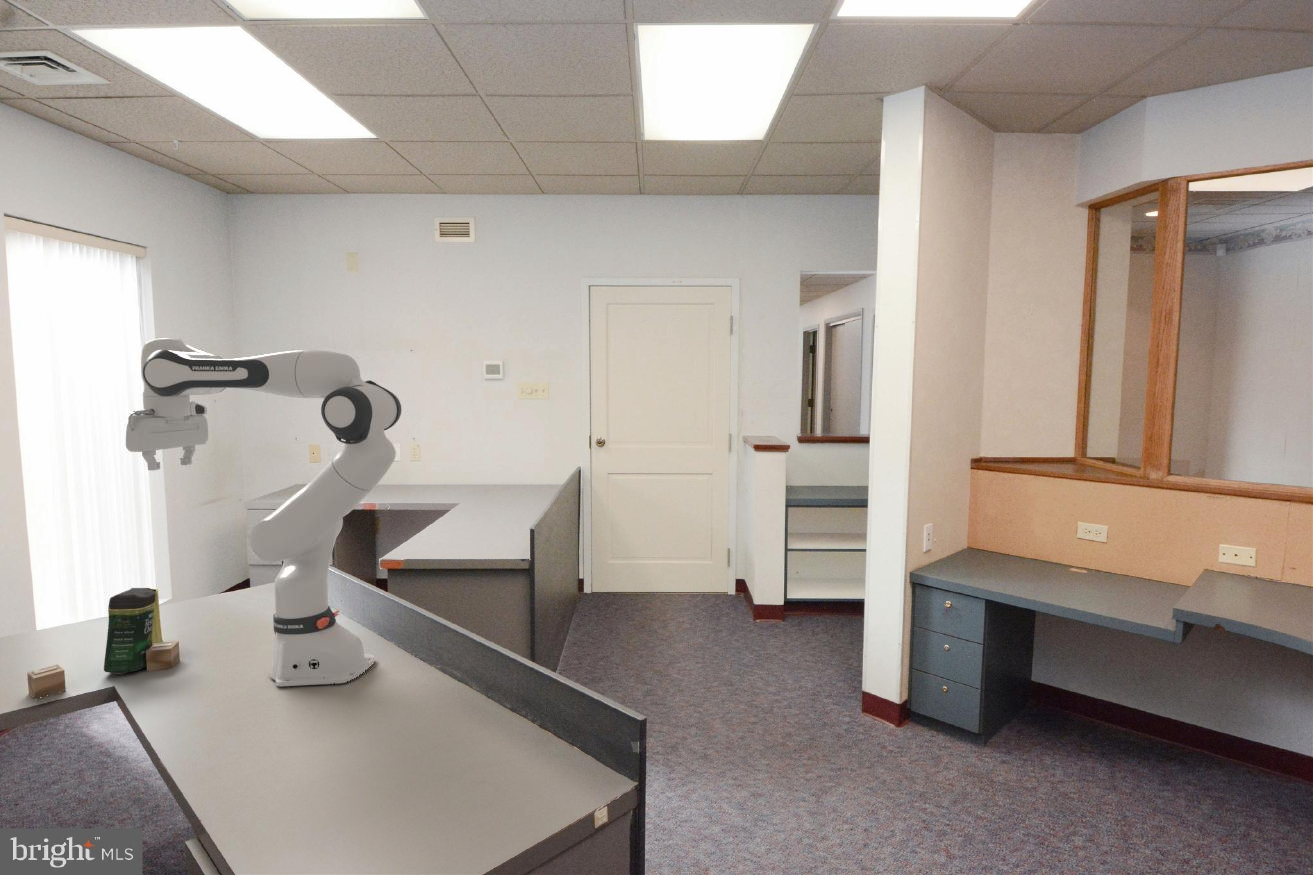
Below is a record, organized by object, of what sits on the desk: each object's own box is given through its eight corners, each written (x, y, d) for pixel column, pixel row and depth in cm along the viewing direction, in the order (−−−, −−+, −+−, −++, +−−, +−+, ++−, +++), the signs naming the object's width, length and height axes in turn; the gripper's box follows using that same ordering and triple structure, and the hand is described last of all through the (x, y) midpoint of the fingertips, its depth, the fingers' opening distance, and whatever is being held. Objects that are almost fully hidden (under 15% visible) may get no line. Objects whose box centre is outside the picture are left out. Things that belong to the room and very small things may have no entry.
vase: (169, 641, 173) (166, 588, 171) (148, 650, 166) (145, 595, 165) (147, 640, 173) (144, 587, 172) (127, 649, 167) (123, 594, 166)
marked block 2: (179, 660, 161) (178, 639, 160) (172, 668, 156) (170, 647, 156) (155, 663, 159) (154, 642, 159) (147, 671, 155) (145, 650, 154)
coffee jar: (138, 674, 152) (143, 593, 152) (97, 675, 149) (102, 594, 150) (157, 660, 161) (161, 584, 161) (119, 662, 159) (123, 585, 159)
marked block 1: (65, 691, 144) (64, 669, 144) (35, 700, 140) (33, 677, 140) (59, 685, 147) (57, 663, 147) (28, 694, 143) (27, 671, 143)
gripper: (142, 410, 142) (146, 473, 143) (212, 407, 162) (215, 462, 164) (115, 410, 142) (119, 473, 144) (188, 407, 163) (191, 462, 164)
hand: (170, 467), depth 154 cm, fingers open, 8 cm apart
